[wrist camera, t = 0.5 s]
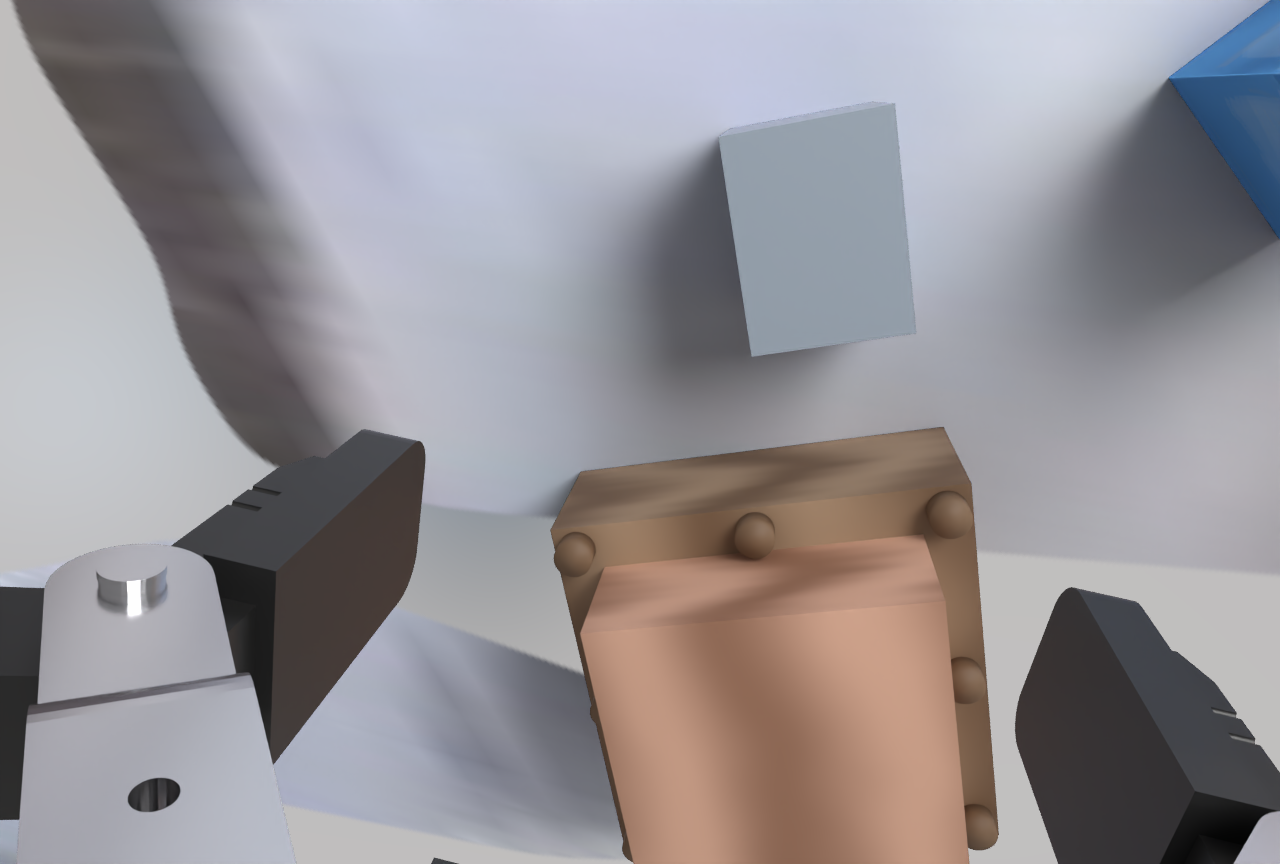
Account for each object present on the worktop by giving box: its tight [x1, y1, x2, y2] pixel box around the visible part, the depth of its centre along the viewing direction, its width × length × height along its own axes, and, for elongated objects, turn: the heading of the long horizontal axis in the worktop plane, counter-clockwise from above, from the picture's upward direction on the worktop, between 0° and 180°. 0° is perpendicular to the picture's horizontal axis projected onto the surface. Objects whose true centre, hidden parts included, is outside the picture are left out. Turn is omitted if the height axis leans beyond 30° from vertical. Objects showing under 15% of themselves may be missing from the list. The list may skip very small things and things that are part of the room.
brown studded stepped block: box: [551, 427, 999, 864], centre depth 31 cm, size 13×13×9 cm
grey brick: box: [718, 102, 916, 357], centre depth 28 cm, size 4×6×6 cm
